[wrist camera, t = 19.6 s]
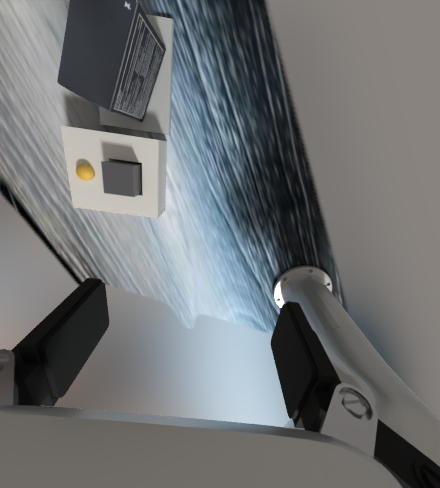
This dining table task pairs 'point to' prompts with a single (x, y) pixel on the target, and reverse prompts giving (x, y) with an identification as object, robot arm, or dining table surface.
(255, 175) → the dining table surface
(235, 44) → the dining table surface
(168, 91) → the lockout pad
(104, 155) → the switch panel
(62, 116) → the dining table surface
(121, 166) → the button
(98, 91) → the small box
